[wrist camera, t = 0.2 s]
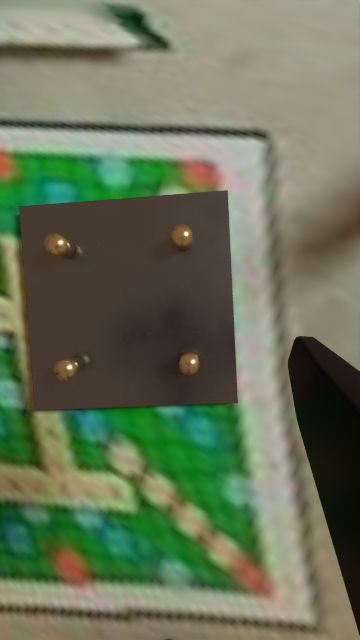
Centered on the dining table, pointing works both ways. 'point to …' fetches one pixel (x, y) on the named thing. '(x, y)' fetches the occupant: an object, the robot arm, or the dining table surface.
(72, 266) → the standoff plate
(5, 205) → the dining table surface
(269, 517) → the dining table surface
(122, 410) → the dining table surface
